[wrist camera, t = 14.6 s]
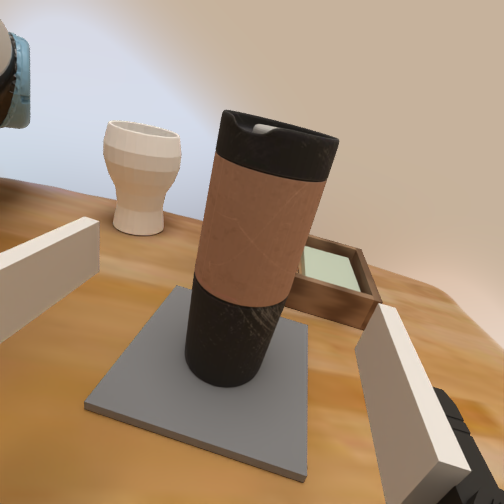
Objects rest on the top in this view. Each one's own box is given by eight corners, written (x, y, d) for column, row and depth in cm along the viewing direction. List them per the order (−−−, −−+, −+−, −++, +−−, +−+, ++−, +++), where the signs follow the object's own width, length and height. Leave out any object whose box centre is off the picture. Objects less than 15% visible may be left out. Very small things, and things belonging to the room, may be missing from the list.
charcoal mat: (84, 409, 21) (84, 401, 21) (175, 290, 35) (176, 285, 35) (303, 482, 20) (306, 476, 20) (305, 330, 34) (307, 325, 34)
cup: (167, 245, 45) (179, 142, 38) (91, 233, 43) (90, 122, 36) (176, 219, 54) (187, 133, 47) (115, 208, 52) (117, 117, 45)
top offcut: (302, 287, 39) (305, 278, 38) (301, 253, 49) (303, 245, 48) (357, 303, 39) (361, 294, 38) (345, 265, 49) (348, 257, 48)
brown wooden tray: (201, 281, 38) (206, 250, 36) (230, 236, 53) (235, 213, 51) (367, 331, 37) (382, 302, 35) (351, 271, 51) (361, 249, 49)
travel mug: (252, 325, 32) (310, 128, 23) (274, 387, 25) (367, 147, 16) (179, 325, 29) (212, 105, 20) (183, 394, 23) (235, 116, 14)
